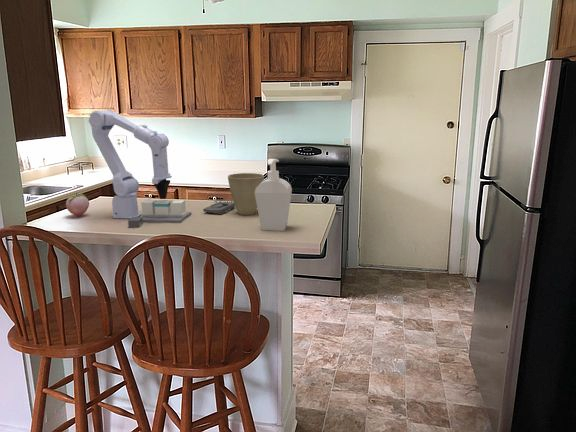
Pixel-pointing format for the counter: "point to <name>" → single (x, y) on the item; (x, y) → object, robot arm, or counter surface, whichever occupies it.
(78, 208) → the decorative fruit
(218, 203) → the graphics card
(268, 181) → the soap bottle
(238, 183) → the plant pot
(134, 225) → the box
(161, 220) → the mounting plate
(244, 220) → the counter surface
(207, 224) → the counter surface
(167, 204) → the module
